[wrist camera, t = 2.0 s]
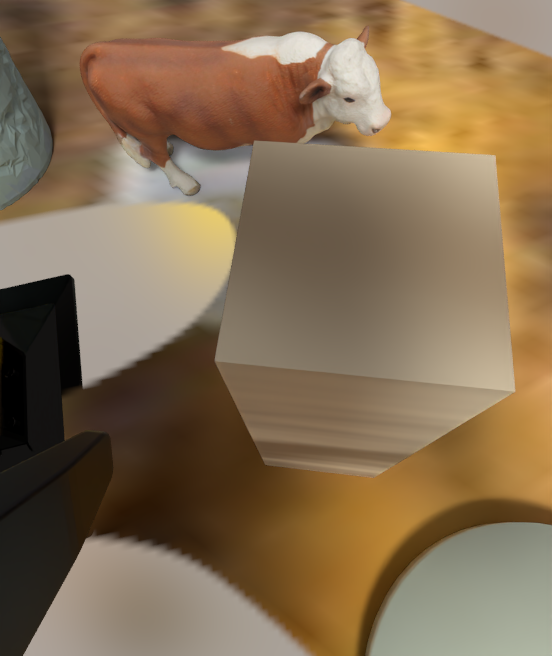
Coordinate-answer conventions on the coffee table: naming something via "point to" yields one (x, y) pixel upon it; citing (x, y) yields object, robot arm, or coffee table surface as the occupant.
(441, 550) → the saucer
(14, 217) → the coffee table surface
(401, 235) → the birch block
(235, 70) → the bull figurine
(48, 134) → the grey green pot
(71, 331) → the black recessed tray
